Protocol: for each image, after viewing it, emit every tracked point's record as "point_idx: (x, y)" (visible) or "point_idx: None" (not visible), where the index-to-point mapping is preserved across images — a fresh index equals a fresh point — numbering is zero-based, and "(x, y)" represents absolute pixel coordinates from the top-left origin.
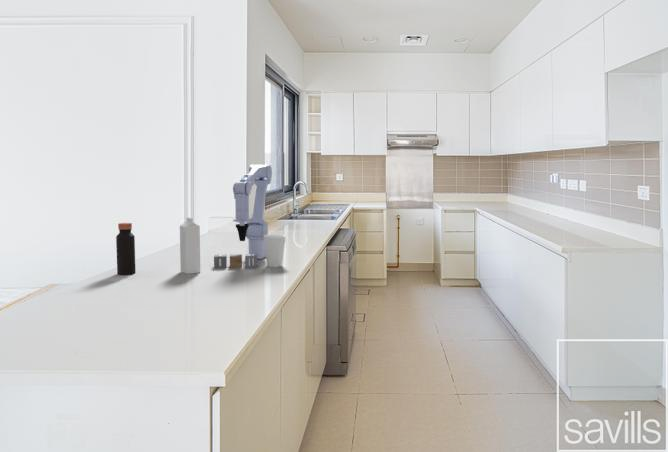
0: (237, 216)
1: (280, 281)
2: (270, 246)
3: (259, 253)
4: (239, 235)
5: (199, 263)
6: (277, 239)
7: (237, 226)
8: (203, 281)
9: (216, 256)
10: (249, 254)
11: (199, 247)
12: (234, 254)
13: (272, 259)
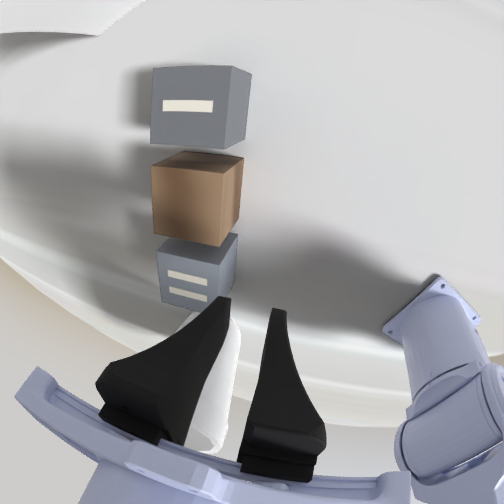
0: (85, 500)
1: (29, 268)
2: None
3: (403, 343)
4: (190, 325)
5: (70, 30)
6: None
7: (102, 376)
8: (10, 90)
9: (155, 83)
10: (202, 282)
11: (9, 31)
12: (221, 202)
13: None
